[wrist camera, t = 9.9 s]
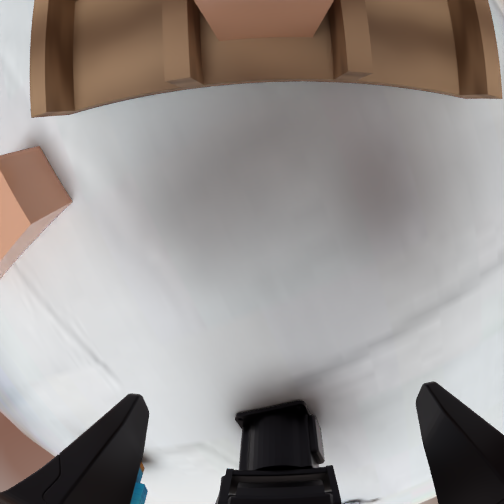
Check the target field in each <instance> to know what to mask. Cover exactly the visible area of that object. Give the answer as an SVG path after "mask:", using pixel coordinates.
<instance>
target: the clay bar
mask: <svg viewBox="0 0 504 504" xmlns="http://www.w3.org/2000/svg"><path fill="white" fill-rule="evenodd" d="M71 203H72V200H71V198H70V197H69V195H68V194H67V192H66V190H65V189H64V187H63V186H62V184H61V182H60V181H59V179H58V177H57V176H56V174H55V172H54V171H53V169H52V167H51V165H50V164H49V162H48V160H47V159H46V157H45V155H44V153H43V151H42V150H41V148H40V146H38V147H33V148H29V149H25V150H20V151H16V152H12V153H8V154H4V155H1V156H0V279H1V278H2V277H3V275H4V274H5V273H6V272H7V271H8V269H9V268H10V267H11V266H12V265H13V263H14V262H15V261H16V260H17V259H18V258H19V257H20V255H21V254H22V253H23V252H24V251H25V250H26V249H27V248H28V247H29V245H30V244H31V243H32V242H33V241H34V240H35V239H36V238H37V237H38V236H39V235H40V234H41V233H42V232H43V231H44V230H45V228H46V227H47V226H48V225H49V224H50V223H51V222H52V221H53V220H54V219H55V218H56V217H57V216H58V215H59V214H60V213H61V212H62V211H64V210H65V209H66V208H67V207H68V206H69V205H70V204H71Z"/></svg>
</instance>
